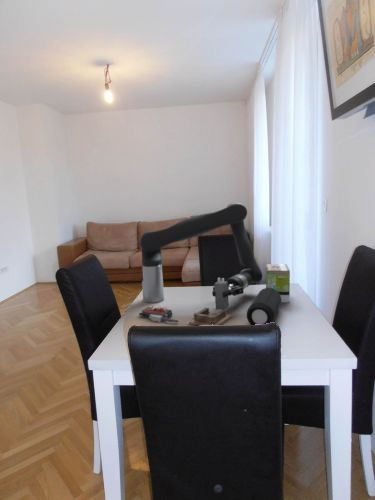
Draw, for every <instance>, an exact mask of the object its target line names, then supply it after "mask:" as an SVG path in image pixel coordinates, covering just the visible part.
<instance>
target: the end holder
mask: <svg viewBox="0 0 375 500" xmlns="http://www.w3.org/2000/svg"><path fill="white" fill-rule="evenodd" d="M230 318H231V319H232V315H229V314H226V310H219V311H218V312H217V313H216V312H212V311H211V312H210V308H209V307H204V308H202V309H201V310H199V311H198V312H195V313H194V314H193V318H192V319H190V320H189V321H187V324H188V325H191V326H196V325H212V324H213V325H221V326H222V325H224V324H225V323H226V321H227V320H228V321H229V320H230ZM228 321H227V322H228ZM224 322H225V323H224ZM223 323H224V324H223Z"/></svg>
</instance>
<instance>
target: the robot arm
mask: <svg viewBox="0 0 375 500" xmlns="http://www.w3.org/2000/svg"><path fill="white" fill-rule="evenodd" d="M247 215H248V210H247V207H246V206H245V205H244V204H243V203H241V202H231V203H230V204H228V205H227V206H226V207H225V208H222V209H220V210H219V209H218V210H217V211H214V212H208V213H203V214H202V213H201V214H198V215H194V216H191V217H188V218H185V219H183V220H180V221H178V222H176V223H174V224H172V225H170V226H169V227H166V228H163V229H160V230H155V231H154V230H147V231H145V232H143V234H142V235H141V237H140V241H139V245H140V248H141V264H142V279H143V280H142V281H141V287H142V288H141V289H142V300H143V301H145V302H146V303H152V304H153V303H161V302H163V301H164V299H165V295H164V294H165V293H164V291H165V290H164V280H163V279H164V278H163V264H162V263H163V261H162V248H163V247H166V246H169V245H171V244H174V243H177V242H181V241H182V242H183V241H185V240H189V239H192V238H196V237H198V236H201V235H204V234H206V233H209V232H212V231H214V230H216V229H218V228H221V227H225V226H230V228H231V232H232V235H233V237H234V238H233V239H234V242H235V247H236V250H237V255H238V259H239V264H241V265H242V266H247V267H249V268H244V269H242V270H241V271H240V272H239V273H238V274H235V275H233V276H231V277H229V278H227V279H226V281H225V282H228V290H226V291H224V292H223V298H225V297H227V296H228V297H229V296H232V297H233V296H234V297H235V296H239V295H241V294H244V291H245V289H246V288H247V287H249V286H250V285H251V284H255V283H260V282H262V280H263V272H262V270H261V268H260V266H259V265H258V262H257V261H256V258H255V255H254V251H253V248H252V244H251V241H250V239H249V237H248V234H247V230H246V227H245V219H246V217H247ZM212 289H213V290H212V291H211V292H212V293H211V295H212V296H213V297H215V284H214V285H213V287H212Z"/></svg>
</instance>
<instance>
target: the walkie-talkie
mask: <svg viewBox="0 0 375 500" xmlns="http://www.w3.org/2000/svg"><path fill="white" fill-rule="evenodd" d="M138 315H139V316H141V317H142V318H147V319H150V320H151V321H153V322H158V323H161V322H170V323H172V322H175V323H179V320H178V319H172V318H171V317H172V316H173V311H172V310H171V309H168V308H167V307H166V306H160V305H158V306H156V307H154V306H147V307H146V308H144V309H142V310H141V312H139V314H138Z"/></svg>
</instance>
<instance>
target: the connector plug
mask: <svg viewBox="0 0 375 500" xmlns="http://www.w3.org/2000/svg"><path fill="white" fill-rule="evenodd" d="M214 285H215V296H214V298H215V303H214V304H215V310H219V311H221V310H225V311H226V310H227V309H229V307H230V306H229V305H230V302H229V296H227V297H225V298H223V292H224V291H226V290H228V282H226V281H225V277H222V278H221V277H217V281H216V282H214Z"/></svg>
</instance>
